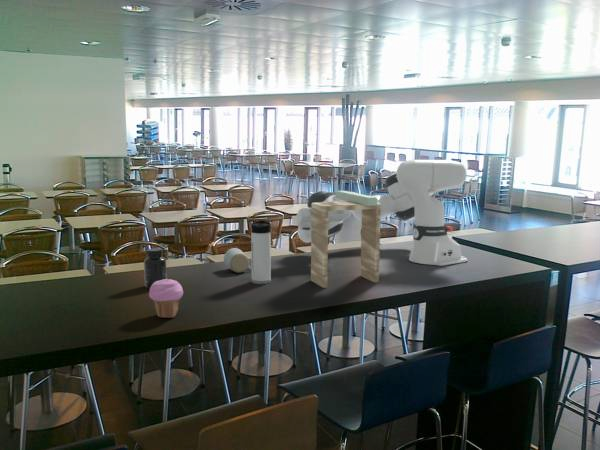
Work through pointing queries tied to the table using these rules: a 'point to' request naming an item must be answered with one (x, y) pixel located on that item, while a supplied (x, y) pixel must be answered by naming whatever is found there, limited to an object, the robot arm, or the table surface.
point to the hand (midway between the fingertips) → (331, 206)
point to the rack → (368, 239)
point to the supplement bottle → (154, 267)
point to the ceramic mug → (237, 260)
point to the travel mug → (261, 252)
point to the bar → (357, 198)
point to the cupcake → (166, 297)
